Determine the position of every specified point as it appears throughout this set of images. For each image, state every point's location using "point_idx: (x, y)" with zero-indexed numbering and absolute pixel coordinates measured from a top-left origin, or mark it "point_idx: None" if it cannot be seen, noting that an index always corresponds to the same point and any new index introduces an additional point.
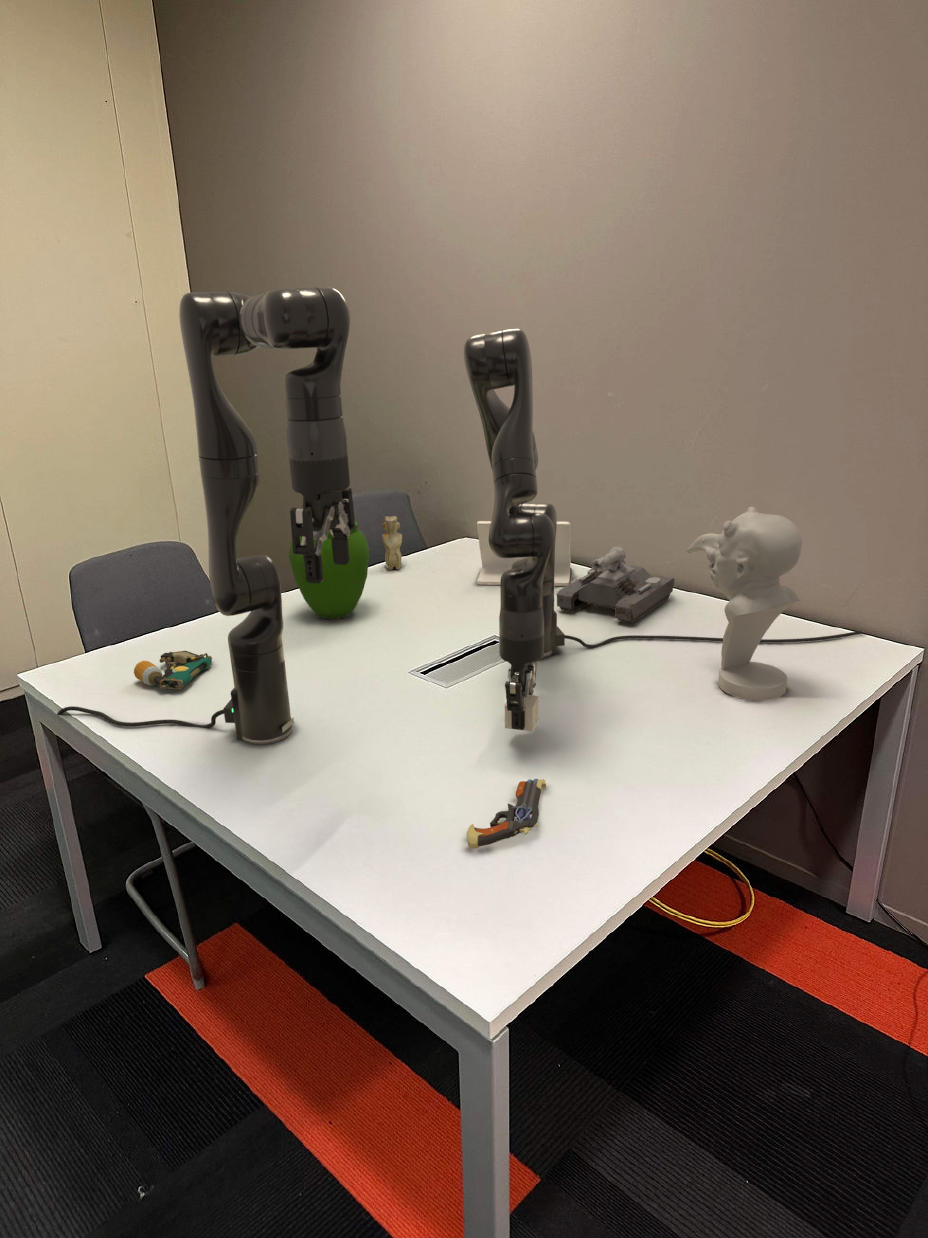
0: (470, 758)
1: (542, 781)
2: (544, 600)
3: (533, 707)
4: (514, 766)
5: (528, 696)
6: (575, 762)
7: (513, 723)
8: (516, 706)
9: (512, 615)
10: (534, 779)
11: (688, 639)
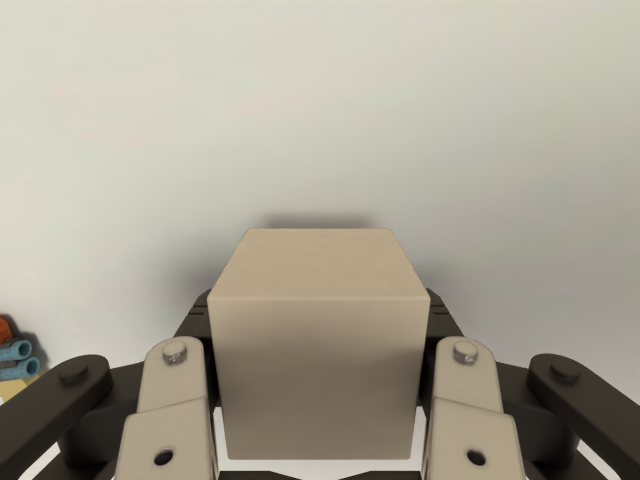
0: (112, 81)
1: (11, 396)
2: None
3: (245, 454)
4: (132, 268)
5: (384, 414)
6: None
7: (194, 306)
8: (62, 448)
9: None
10: (20, 368)
11: None
